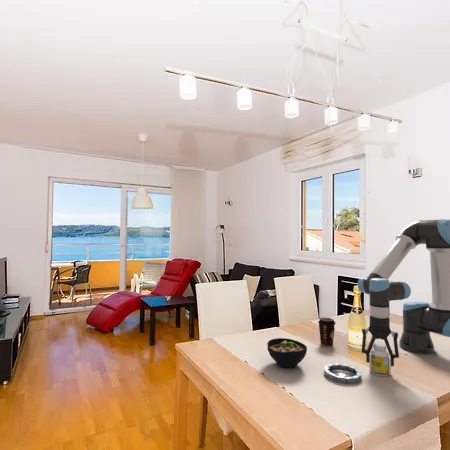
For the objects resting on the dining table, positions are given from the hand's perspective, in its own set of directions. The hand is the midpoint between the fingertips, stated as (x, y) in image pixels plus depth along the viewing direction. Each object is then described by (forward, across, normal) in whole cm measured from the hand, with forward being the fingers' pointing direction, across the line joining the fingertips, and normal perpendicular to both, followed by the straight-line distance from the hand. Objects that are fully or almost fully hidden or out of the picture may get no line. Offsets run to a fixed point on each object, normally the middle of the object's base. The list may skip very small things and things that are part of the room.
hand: (379, 371), depth 131 cm
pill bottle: (+1, 0, 0) cm, 1 cm away
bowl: (+1, +37, +8) cm, 38 cm away
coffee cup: (+1, +24, -27) cm, 36 cm away
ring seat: (0, +14, +9) cm, 17 cm away
